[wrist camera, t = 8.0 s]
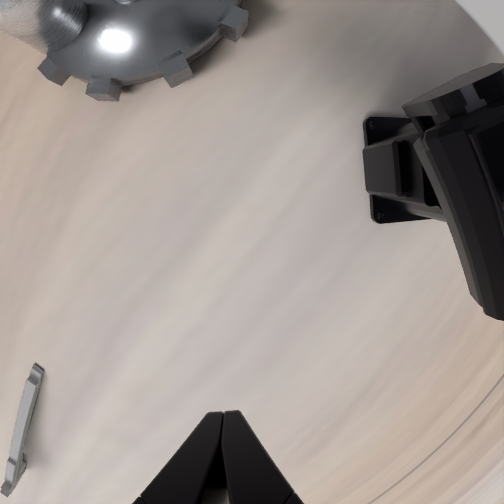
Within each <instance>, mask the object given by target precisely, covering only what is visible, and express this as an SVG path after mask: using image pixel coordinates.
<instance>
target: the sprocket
mask: <svg viewBox="0 0 504 504" xmlns="http://www.w3.org/2000/svg"><path fill="white" fill-rule="evenodd" d="M240 3H241V0H0V29H1V30H2V31H4V32H6V33H8V34H10V35H11V36H13V37H15V38H17V39H19V40H20V41H22V42H24V43H26V44H27V45H29V46H31V47H33V48H34V49H36V50H38V51H40V52H42V53H45V54H47V57H46V59H45V60H44V61H43V62H42V63H41V64H40V66H39V67H38V69H39V70H40V71H41V73H42V74H43V75H44V76H45V77H46V78H47V79H48V80H50V81H52V82H54V83H56V84H58V85H61V86H62V85H63V84H64V83H65V81H66V80H67V79H68V78H69V77H70V76H71V75H72V76H74V77H75V78H77V79H80V80H82V81H84V82H87V83H88V85H87V89H86V93H85V94H87V95H89V96H90V97H92V98H94V99H96V100H98V101H119V97H120V93H121V89H122V86H129V85H135V84H140V83H145V82H148V81H151V80H155V79H158V78H161V77H163V76H164V78H165V80H166V81H167V83H168V84H169V85H170V87H171V88H173V87H175V86H177V85H179V84H181V83H183V82H185V81H187V80H189V79H191V78H193V77H194V76H193V73H192V71H191V69H190V66H189V65H188V64H189V63H191V62H192V61H194V60H195V59H197V58H198V57H200V56H201V55H202V54H204V53H205V52H206V51H207V50H209V49H210V48H211V47H212V46H213V45H214V44H215V43H216V42H217V41H218V40H219V39H220V38H221V37H225V38H227V39H230V40H232V41H234V42H237V41H238V39H239V38H240V36H241V35H242V33H243V32H244V30H245V29H246V28H247V26H248V19H249V11H247V10H244V9H242V8H239V7H240Z"/></svg>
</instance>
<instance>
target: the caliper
mask: <svg viewBox="0 0 504 504" xmlns="http://www.w3.org/2000/svg"><path fill="white" fill-rule="evenodd" d="M43 372H44V371H43V370H42V369H40V368H39V367H38V366H36V365H35V364H34V365H33V367H32V369H31V373H30V376H29V377H28V378H27V380H26V383H25V387H24V390H23V394H22V398H21V402H20V406H19V410H18V414H17V418H16V423H15V427H14V432H13V437H12V443H11V448H10V454H9V459H8V460H7V465H6V472H5V482H4V483H3V485H2V486H1V488H2V489H1V493H2V494H3V495H5V496H6V497H8V496H9V494H11V493H12V491H13V490H14V488H15V487H16V485H17V484H18V482H19V480H20V479H21V477H22V475H23V474H24V472H25V470H26V468H25V466H26V462H25V461H23V456H24V454H23V453H22V452H23V448H24V443H25V439H26V435H27V431H28V427H29V423H30V420H31V416H32V412H33V409H34V406H35V402H36V399H37V396H38V392H39V389H40V384H41V378H42V375H43Z"/></svg>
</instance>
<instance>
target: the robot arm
mask: <svg viewBox="0 0 504 504" xmlns="http://www.w3.org/2000/svg"><path fill="white" fill-rule="evenodd" d="M402 108H403V109H404V111H405V113H406V115H407V117H410V118H411V119H410V118H391V117H369V118H367V119H365V120H364V122H363V131H364V139H365V148H364V149H363V161H364V172H365V184H366V191H367V192H368V193H369V194H370V211H371V219H372V220H373V221H374V222H376V223H379V224H383V223H394V222H404V221H415V220H426V219H436V220H440V221H444V222H447V224H448V226H449V229H450V232H451V234H452V237H453V240H454V243H455V246H456V249H457V252H458V255H459V258H460V261H461V264H462V267H463V271H464V274H465V277H466V281H467V284H468V288H469V291H470V294H471V296H472V297H473V298H474V299H475V300H476V301H477V303H478V304H479V305H480V306H482V307H483V311H484V313H485V314H486V315H488V316H490V317H492V318H495V319H497V320H502V321H504V64H499V63H491V64H488V65H485V66H483V67H480V68H478V69H475V70H473V71H470V72H468V73H465V74H463V75H461V76H459V77H457V78H455V79H453V80H451V81H449V82H447V83H445V84H443V85H441V86H439V87H437V88H435V89H433V90H431V91H429V92H428V93H426V94H424V95H422V96H420V97H418V98H416V99H414V100H412V101H411V102H409V103H407V104H405V105H403V106H402ZM369 122H372V123H373V125H374V128H373V129H371V128H370V126H369ZM378 212H381V214H382V215H381V218H379V219H378V218H377V213H378ZM140 496H141V497H138V498H137V499H136V500H135V501H134V502H133V503H132V504H304V503H303V502H302V500H301V499H300V498H299V496H298V495H297V494H296V493H295V492H294V490H293V488H292V487H291V486H290V484H289V483H288V482H287V480H286V479H285V477H284V476H283V475H282V473H281V472H280V470H279V469H278V467H277V466H276V465H275V463H274V462H273V460H272V459H271V457H270V456H269V454H268V453H267V451H266V450H265V448H264V447H263V445H262V444H261V442H260V441H259V439H258V438H257V436H256V435H255V433H254V432H253V430H252V429H251V427H250V426H249V424H248V422H247V421H246V419H245V418H244V416H243V415H242V413H241V412H240V411H239V410H233V411H225V412H224V413H223V412H221V411H219V412H208V413H207V414H206V415H205V416H204V418H203V419H202V420H201V421H200V423H199V424H198V425H197V427H196V428H195V429H194V430H193V432H192V433H191V434H190V435H189V437H188V438H187V439H186V440H185V442H184V443H183V444H182V445H181V447H180V448H179V449H178V450H177V452H176V453H175V454H174V455H173V457H172V458H171V459H170V460H169V461H168V463H167V464H166V465H165V466H164V467H163V469H162V470H161V471H160V472H159V473H158V475H157V476H156V477H155V478H154V479H153V480H152V482H151V483H150V484H149V485H148V486H147V488H146V489H145V490H144V491H143V492H142V493H141V494H140Z"/></svg>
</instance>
